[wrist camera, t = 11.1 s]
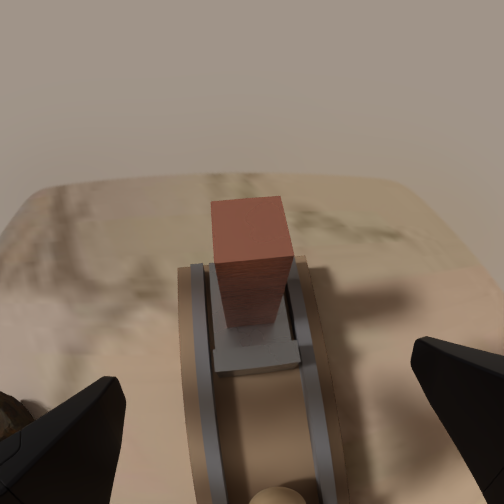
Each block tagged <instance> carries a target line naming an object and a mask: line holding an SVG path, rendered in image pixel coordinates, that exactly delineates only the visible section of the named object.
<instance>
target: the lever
mask: <svg viewBox="0 0 504 504" xmlns="http://www.w3.org/2000/svg"><path fill="white" fill-rule="evenodd" d="M211 217H212V234H213V250H214V263H209V275H210V290H211V304H212V317H213V329H214V341H215V349H214V350H213V357H214V367H215V373H216V374H217V375H218V377H219V378H222V377H233V376H243V375H252V374H260V373H268V372H275V371H282V370H289V369H293V368H295V367H296V366H297V365H298V364H299V363H300V362H301V360H300V355H299V349H298V343H297V340H293V341H291V335H290V329H289V324H288V318H287V312H286V307H285V301H284V296H283V293H284V290H285V286H286V283H287V279H288V276H289V272H290V269H291V265H292V262H293V258H294V252H293V248H292V243H291V239H290V235H289V230H288V226H287V222H286V217H285V213H284V209H283V205H282V201H281V197H280V196H273V197H259V198H246V199H234V200H223V201H213V202H211Z"/></svg>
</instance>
